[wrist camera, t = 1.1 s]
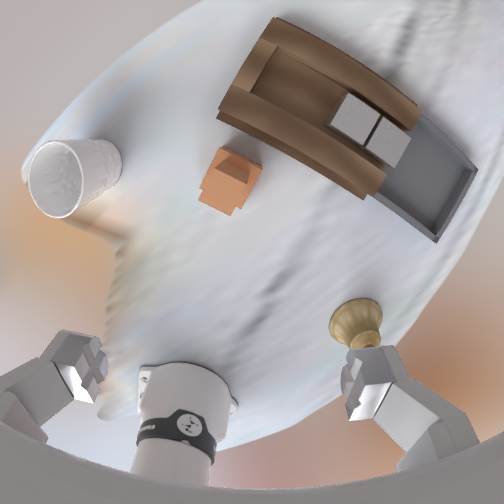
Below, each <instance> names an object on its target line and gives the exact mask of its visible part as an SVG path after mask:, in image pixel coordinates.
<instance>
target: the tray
mask: <svg viewBox="0 0 504 504" xmlns="http://www.w3.org/2000/svg"><path fill="white" fill-rule="evenodd" d="M403 132H404V133H405V134H406V135H408V136H409V137H410V138H411V140H410V142H409V143H408V145H407V147H406V149H405V151H404V152H403V154H402V156H401V158H400V160H399V161H398V163H397V165H396V167H395V168H392V167H389V166H386V165H384V167H383V168H382V170H381V171H383V172H384V173H385V174H387V176H386V178H385V179H384V181H383V183H382V184H381V186H380V188H379V189H378V191H377V193H376V194H375V196H374V198H375V199H376V200H378V201H379V202H381V203H382V204H384V205H385V206H387V207H388V208H389V209H391V210H392V211H394V212H395V213H396V214H398V215H399V216H400V217H402V218H403V219H405V220H406V221H407V222H409V223H410V224H411V225H413V226H414V227H415V228H417V229H418V230H419V231H420V232H422V233H423V234H424V235H426V236H427V237H428V238H429V239H431V240H432V241H433V242H435V243H436V244H437V242H438V240H439V239H440V237H441V236H442V234H443V232H444V231H445V229H446V228H447V226H448V224H449V223H450V221H451V219H452V218H453V216H454V214H455V212H456V211H457V209H458V207H459V205H460V204H461V202H462V200H463V198H464V196H465V195H466V193H467V191H468V189H469V187H470V185H471V183H472V181H473V179H474V177H475V175H476V173H477V171H478V169H477V168H476V166H475V165H474V164H473V163H472V162H471V161H470V160H469V159H468V158H467V157H466V156H465V154H464V153H463V152H462V151H461V150H460V149H459V148H458V147H457V146H456V145H455V144H454V143H453V142H452V141H451V140H450V139H449V138H448V137H447V136H446V135H445V134H444V133H443V132H441V131H440V130H439V129H438V128H437V127H436V126H435V125H434V124H433V123H432V122H431V121H430V120H428V119H427V118H426V117H425V116H424V115H423V114H422V113H421V114H420V116H419V118H418V120H417V122H416V124H415V126H414V128H413V130H412V131H403Z"/></svg>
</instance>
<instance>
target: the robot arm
mask: <svg viewBox="0 0 504 504" xmlns="http://www.w3.org/2000/svg"><path fill="white" fill-rule="evenodd" d="M101 346H102V344H101V341H100V339H99V338H98V337H96V336H92V335H87V334H83V333H78V332H72V331H67V330H61V331H59V332H58V333H57V335H56V336H55V337H54V339H53V340H52V341H51V343H50V344H49V345H48V347H47V348H46V350H45V351H44V352H43V354H42V355H41V356H40V358H37V357H36V358H34V359H32V360H30V361H28V362H27V363H25V364H23V365H21V366H19V367H17V368H15V369H14V370H12V371H10V372H8V373H6V374H4V375H2V376H0V504H504V432H502V433H500V434H498V435H496V436H494V437H492V438H490V439H488V440H486V441H484V442H481V443H480V442H479V440H478V438H477V435H476V433H475V431H474V429H473V427H472V425H471V423H470V421H469V419H468V417H467V415H466V413H464V412H463V411H461V410H460V409H458V408H457V407H455V406H454V405H452V404H451V403H449V402H448V401H447V400H445V399H444V398H442V397H441V396H439V395H437V394H436V393H435V392H433V391H432V390H430V389H429V388H427V387H426V386H424V385H423V384H421V383H420V382H418V381H417V380H411V378H410V376H409V374H408V372H407V370H406V368H405V366H404V364H403V362H402V360H401V358H400V356H399V354H398V352H397V350H396V348H395V347H394V346H393V345H389V346H379V347H369V348H356V349H350V350H349V351H348V353H347V356H346V359H347V362H348V364H346V365H345V366H344V367H343V369H342V373H341V390H342V394H343V395H344V396H346V397H347V398H348V399H347V401H346V404H345V406H346V410H347V414H348V418H349V420H350V421H351V420H361V419H370V418H374V421H375V422H376V423H377V424H378V425H379V426H380V427H382V428H383V430H385V432H386V433H387V434H388V435H389V436H390V437H391V438H392V439H393V440H394V441H395V442H396V443H397V444H398V445H399V446H401V448H402V449H403V450H404V451H406V454H405V455H404V456H403V457H402V459H401V460H400V461H399V462H398V463H397V464H396V470H397V472H396V473H392V474H388V475H384V476H379V477H374V478H370V479H365V480H359V481H354V482H347V483H340V484H333V485H324V486H315V487H303V488H286V489H285V488H284V489H241V488H224V487H211V486H209V476H210V468H211V466H212V464H213V463H214V459H215V456H216V445H217V443H218V442H220V441H221V440H223V439H224V438H225V436H226V432H227V426H228V421H229V416H230V415H231V414H233V413H234V412H236V411H237V408H238V404H237V403H236V402H235V400H234V399H232V398H231V396H230V392H229V389H228V386H227V385H226V383H225V382H224V381H223V380H222V379H221V378H220V377H219V376H217V375H216V374H215V373H213V372H211V371H209V370H207V369H205V368H202V367H200V366H196V365H193V364H187V363H168V364H164V365H161V366H158V367H146V366H145V367H141V368H140V370H139V376H138V408H137V409H138V413H139V414H140V423H141V428H140V430H139V432H138V435H137V447H138V448H137V451H136V454H135V458H134V461H133V465H132V468H131V471H130V473H129V472H126V471H122V470H118V469H114V468H111V467H108V466H104V465H101V464H98V463H94V462H91V461H88V460H86V459H83V458H80V457H77V456H74V455H72V454H69V453H67V452H64V451H62V450H59V449H56V448H54V447H52V446H50V445H47V444H46V442H47V440H48V437H47V435H46V433H45V432H44V431H43V430H42V429H41V427H40V426H42V425H43V424H44V423H45V422H47V421H48V420H49V419H50V418H52V417H53V416H54V415H55V414H57V413H58V412H59V411H60V410H62V409H63V408H64V407H65V406H67V405H68V404H69V403H70V402H72V401H73V400H74V399H78V400H82V401H86V402H91V403H94V401H95V399H96V397H97V395H98V393H99V391H100V387H99V383H101V382H102V381H104V380H105V378H106V376H107V373H108V359H107V357H106V354H105V353H104V352H102V351H101V350H100V348H101Z"/></svg>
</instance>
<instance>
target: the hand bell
mask: <svg viewBox="0 0 504 504" xmlns="http://www.w3.org/2000/svg"><path fill="white" fill-rule="evenodd" d="M381 321H382V311H381V308H380V307H379V305H378V304H377V303H376V302H374V301H372V300H370V299H365V298H359V299H354V300H351V301H349V302H347V303H345V304H343V305H342V306H340V307H339V308H338V309H337V310H336V311H335V312H334V314H333V315H332V317H331V320H330V323H329V330H330V333H331V335H332V337H333V338H334V339H335V340H336V341H338V342H340V343H342V344H346V345H348V347H349V348H350V349H356V348H369V347H379V345H380V342H381V337H380V334H379V330H378V329H379V327H380V325H381Z"/></svg>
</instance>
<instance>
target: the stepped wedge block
mask: <svg viewBox="0 0 504 504" xmlns="http://www.w3.org/2000/svg"><path fill="white" fill-rule="evenodd" d="M261 172H262V166H260V165H258V164H257V163H255V162H253V161H251V160H249V159H247V158H245V157H243V156H241V155H239V154H237V153H235V152H233V151H231V150H229V149H227V148H225V147H220V148H219V150H218V151H217V153H216V155H215V157H214V159H213V161H212V163H211V165H210V167H209V169H208V171H207V173H206V175H205V177H204V179H203V181H202V184H201V186H200V189H202V190H203V191H202V193H201V195H200V197H199V199H198V200H199V201H201V202H203V203H205V204H207V205H209V206H211V207H213V208H215V209H217V210H219V211H221V212H223V213H225V214H227V215H229V216H231V214H232V212H233V210H234V208H235V206H236V207H238V208H240V209H241V208H242V206H243V205H244V203H245V201H246V199H247V197H248V195H249V193H250V192H251V190H252V188H253V186H254V184H255V182H256V181H257V179H258V177H259V175H260V173H261Z"/></svg>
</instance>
